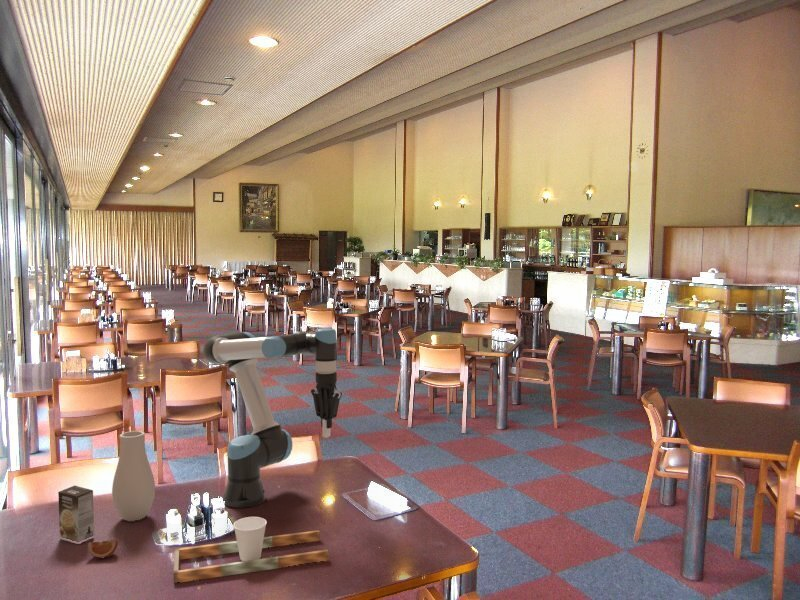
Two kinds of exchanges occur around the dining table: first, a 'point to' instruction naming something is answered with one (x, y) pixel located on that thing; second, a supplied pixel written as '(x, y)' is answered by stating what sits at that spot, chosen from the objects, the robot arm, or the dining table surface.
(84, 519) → the coffee box
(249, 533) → the cup
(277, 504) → the dining table surface
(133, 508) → the vase
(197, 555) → the track
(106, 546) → the fruit slice
